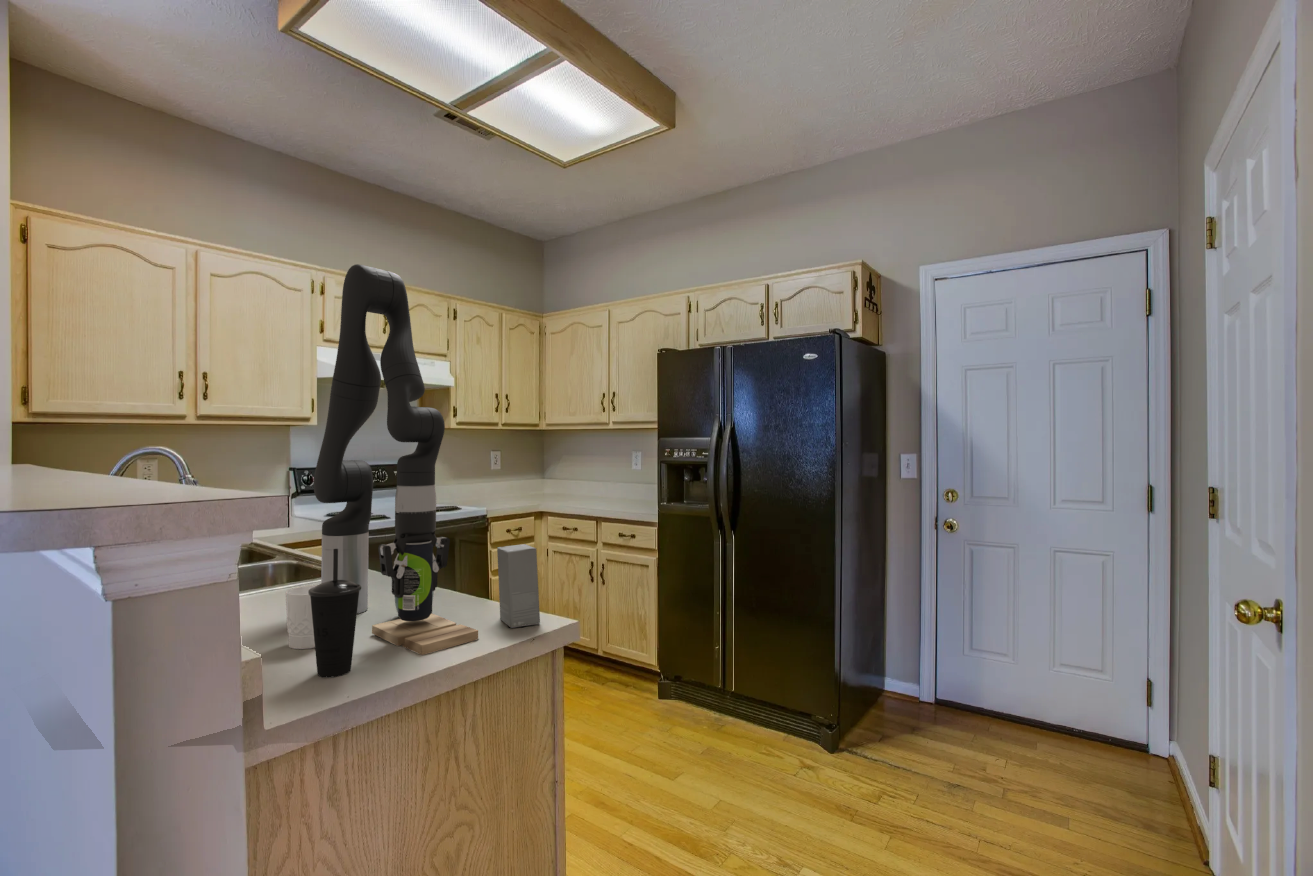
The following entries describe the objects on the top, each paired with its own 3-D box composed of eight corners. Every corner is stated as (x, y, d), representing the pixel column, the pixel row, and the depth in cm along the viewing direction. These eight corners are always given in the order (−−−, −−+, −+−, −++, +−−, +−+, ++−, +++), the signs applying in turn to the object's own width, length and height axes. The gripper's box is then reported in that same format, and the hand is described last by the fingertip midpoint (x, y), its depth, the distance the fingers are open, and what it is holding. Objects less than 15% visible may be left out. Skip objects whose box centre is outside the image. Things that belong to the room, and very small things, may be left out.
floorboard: (401, 646, 113) (401, 636, 113) (457, 631, 121) (457, 623, 121) (422, 655, 108) (422, 645, 108) (478, 639, 117) (478, 630, 117)
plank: (371, 633, 119) (372, 624, 119) (429, 620, 128) (429, 612, 128) (397, 646, 112) (398, 637, 112) (456, 631, 122) (456, 622, 122)
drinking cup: (320, 664, 103) (322, 545, 103) (367, 663, 104) (368, 544, 104) (297, 681, 96) (299, 553, 96) (348, 680, 96) (350, 553, 96)
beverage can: (438, 617, 121) (438, 540, 121) (407, 624, 116) (408, 544, 116) (422, 611, 125) (423, 537, 125) (392, 617, 120) (393, 541, 120)
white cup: (326, 634, 119) (326, 582, 119) (339, 643, 114) (340, 589, 114) (279, 643, 114) (280, 589, 114) (291, 653, 108) (292, 597, 108)
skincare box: (540, 625, 126) (541, 548, 127) (506, 630, 123) (507, 550, 123) (528, 614, 134) (528, 542, 134) (495, 619, 130) (496, 544, 131)
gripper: (438, 504, 128) (437, 584, 128) (370, 509, 117) (369, 597, 117) (459, 506, 124) (458, 590, 124) (389, 512, 113) (388, 604, 112)
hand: (414, 593), depth 120 cm, fingers closed on beverage can, 6 cm apart
